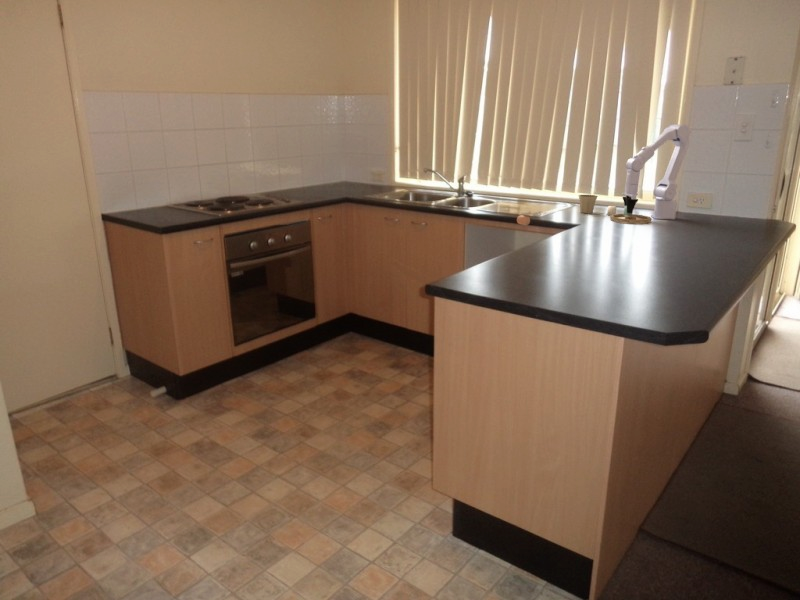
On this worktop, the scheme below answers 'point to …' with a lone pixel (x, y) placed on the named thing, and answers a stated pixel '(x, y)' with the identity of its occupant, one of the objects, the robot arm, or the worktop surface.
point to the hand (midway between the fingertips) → (628, 212)
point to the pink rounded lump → (523, 220)
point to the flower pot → (587, 203)
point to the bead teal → (626, 211)
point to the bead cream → (611, 210)
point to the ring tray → (630, 219)
